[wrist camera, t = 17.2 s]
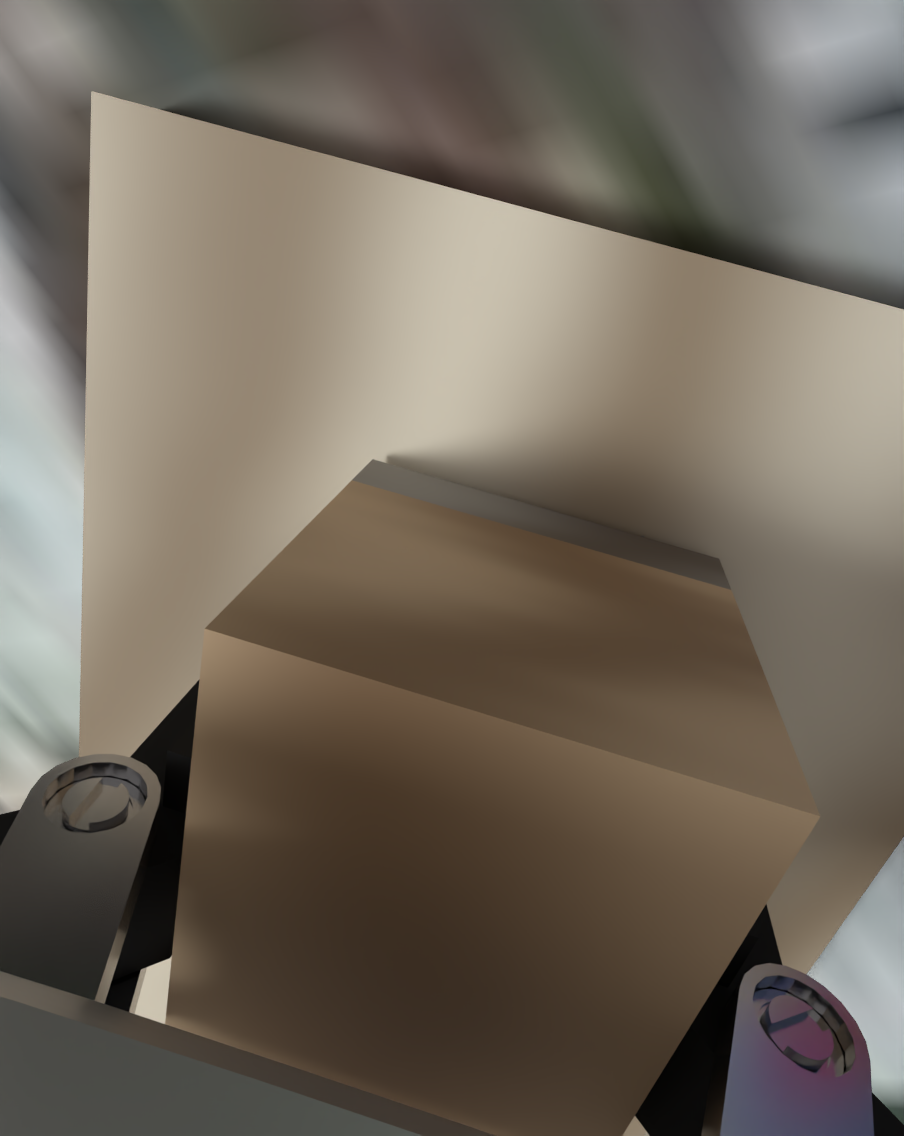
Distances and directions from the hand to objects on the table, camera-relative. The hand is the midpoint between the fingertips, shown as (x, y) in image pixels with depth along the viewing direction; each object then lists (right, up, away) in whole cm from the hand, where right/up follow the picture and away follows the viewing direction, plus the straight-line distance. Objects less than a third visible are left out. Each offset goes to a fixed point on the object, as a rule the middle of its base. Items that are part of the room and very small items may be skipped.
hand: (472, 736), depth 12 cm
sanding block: (0, 0, +1) cm, 1 cm away
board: (-1, -5, +5) cm, 7 cm away
